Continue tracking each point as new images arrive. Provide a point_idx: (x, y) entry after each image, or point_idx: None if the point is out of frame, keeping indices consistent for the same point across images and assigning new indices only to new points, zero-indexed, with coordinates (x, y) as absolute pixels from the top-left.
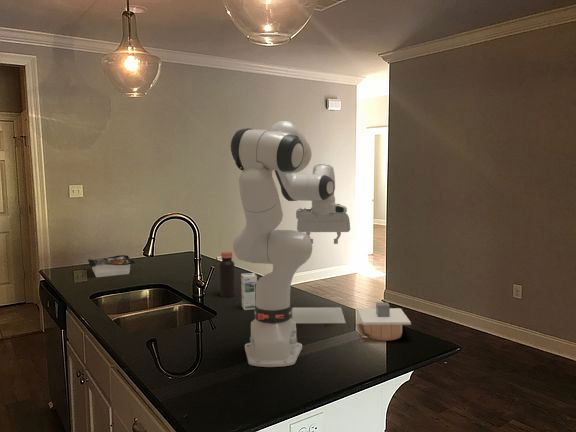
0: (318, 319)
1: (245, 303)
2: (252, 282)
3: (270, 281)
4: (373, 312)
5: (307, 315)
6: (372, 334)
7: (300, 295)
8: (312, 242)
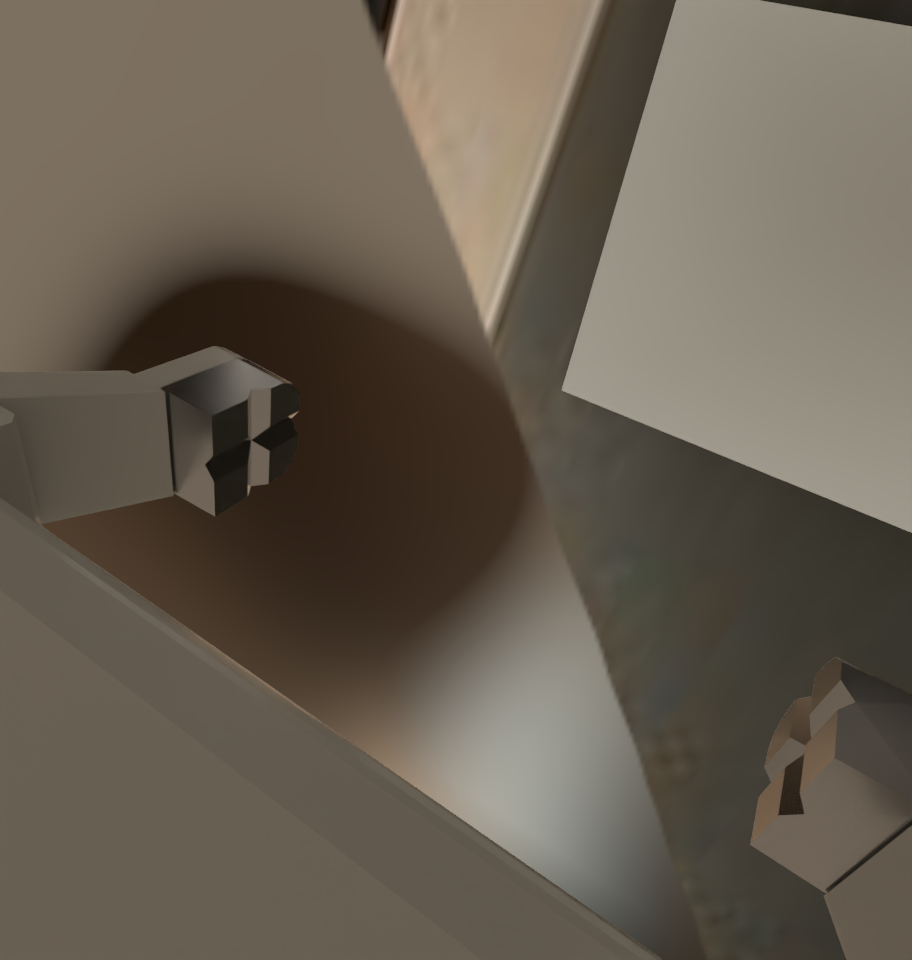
0: (869, 152)
1: None
2: None
3: None
4: None
5: (906, 296)
6: None
7: (687, 733)
8: (861, 684)
